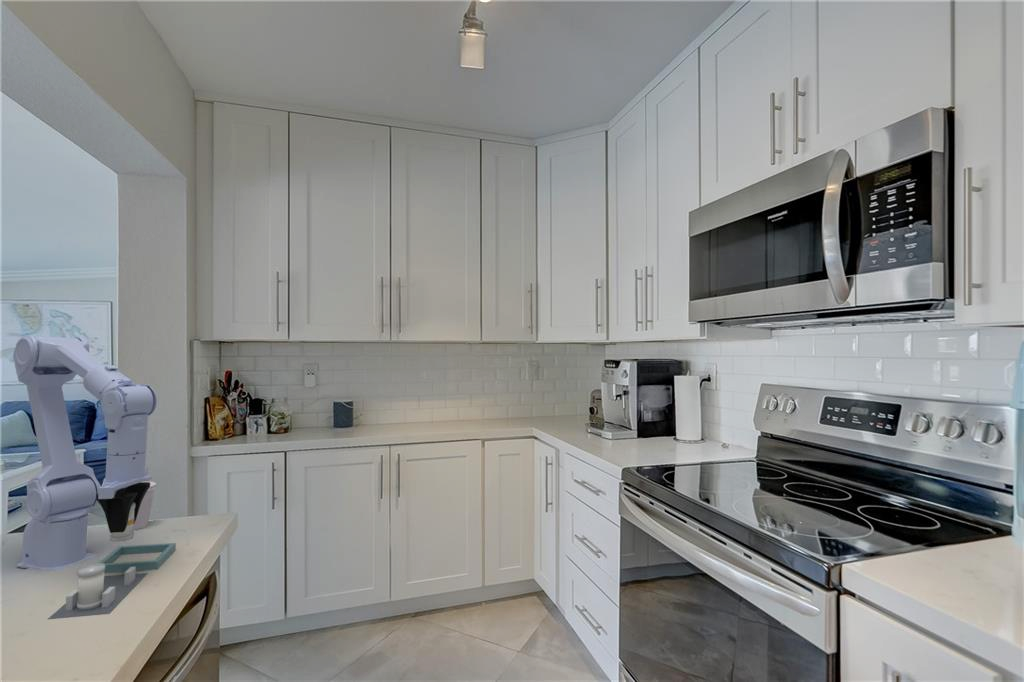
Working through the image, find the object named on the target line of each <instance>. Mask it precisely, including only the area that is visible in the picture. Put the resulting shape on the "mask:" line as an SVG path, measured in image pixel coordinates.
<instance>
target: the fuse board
mask: <svg viewBox="0 0 1024 682" xmlns="http://www.w3.org/2000/svg"><path fill="white" fill-rule="evenodd" d="M136 572H137V571H136V567H130V568H129V569H128V570H127V571H126V572H124V574H116V575H115V574H114V575H104V593H103V594H102V605H101V606H99V607H97V608H94V609H90V610H83V611H82V610H77V602H78V588H77V589H74V590H72V591H71V592H70V593H69V594H67V595H66V596H65V603H64V604H63V605H62V606H61V607H60V608H58V609H57V611H54V613H53V614H51V615H50V616H49V617H48V618H47V620H55V619H65V618H66V619H68V618H76V617H77V618H78V617H88V616H89V617H90V616H100V615H110V614H111V613H112V612H113V611H114V610H115V609H116V608H117V607H118V606H119V605H120V604H121V602H122V601H124V599H125V598H126V597H127V596H128V595H129V594H131V592H132V591H133V590H134V589H135V587H137V586H138V585H139V584H140V583H141V581H142V580H143V579H144V578H145V577H146V576H147V575H148V574H149V573H148V572H143V573H136Z"/></svg>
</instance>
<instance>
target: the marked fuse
mask: <svg viewBox="0 0 1024 682" xmlns="http://www.w3.org/2000/svg"><path fill="white" fill-rule="evenodd" d="M135 504H136V503H134V502H133V503H132V506H131V509H130V512H129V517H128V523H127V526H126V529H125V531H124V532H116V533H110V535H109V540H110V542H112V543H113V542H114V543H115V542H116V543H117V542H118V543H119V542H120V543H121V542H125V541H129V540H131V539H134V537H135V536H134V534H135V531H134V530H133V527H134V510H135Z"/></svg>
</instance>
